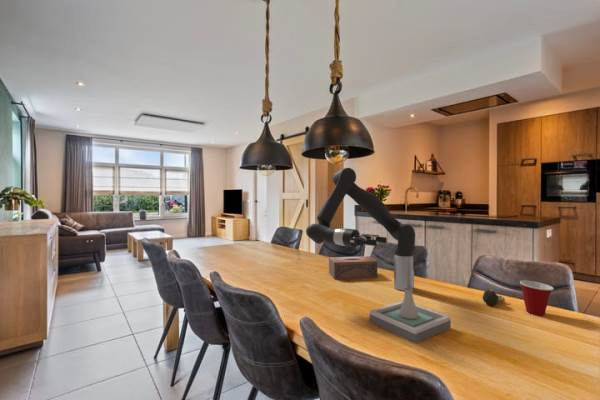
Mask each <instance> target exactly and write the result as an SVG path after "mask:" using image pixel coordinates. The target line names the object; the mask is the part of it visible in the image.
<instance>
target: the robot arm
mask: <svg viewBox="0 0 600 400" xmlns="http://www.w3.org/2000/svg"><path fill="white" fill-rule="evenodd" d="M356 180H357V174H356V172H355V170H354V169H353V168H350V167H345V168H342V169H340V170H338V171H337V172H335V173H334V175H333V177H332V181H333V184H334V186H335V187H334V189H333V190H332V192H331V193H330V195H329V196H328V197H327V199H326V200H325V202H323V204H322V206H321V208H320V210H319V211H318V214H317V217H316V220H317V221H318V223H311V224H309V225H308V226H307V227H306V230H305V234H306V236H307V237H308V238H309V239H310V240H312V241H313V242H314V243H316V244H319V245H320V244H322V243H324V242H326V243H328V244H333V245H338V246H344V247H350V248H357V247H358V246H361V247H363V246H365V247H366V246H371V247H376V246H378V243H380V244H381V243H383V244H386V243H387V242H388V239H387V237H386V236H385V237H384V236H380V234H371V233H370V234H369V233H360V231H359V230H358V229H355V228H345V227H344V228H341V227H340V228H338V227H331V223H332V220H333V218H334V217H335V214H336V213H337V211H338V209H339V206H340V205H341V203H342V202H343V199H344V198H345V197H346V195H348V197H350V199H352V200H353V201H354V202H355V204H358V206H359V207H360V208H362V209H363V211H365V212H366V213H367V215H369V216H370V217H371V218H373V220H375V221H376V222H378V224H380V225H381V226H382V227H384V229H385V230H386V231H387V232H388V233H389V235H391V237H392V238H393V239H395V241H397V247H395V248H394V250H393V287H394V289H395V290H398V291H402V292H403V291H404V288H412V289H413V290H414V288H415V270H414V252H415V248H416V232H415V229H414V227H413V226H412V225H411V224H406V223H402V222H401V221H399V220H398V219H397V218H395V217H394V216H393V215H392V214H391V213H390V211H389V209H388V207H387V206H386V204H385V202H383V201H382V200H381V199H380V198H379V197H378V196H376V195H375V194H374V193H372V192H370V191H368V190H366V189H363V188H362V187H360V186H359V185H358V184H356V183H355V182H356ZM404 292H405V291H404Z"/></svg>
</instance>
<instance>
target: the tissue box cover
mask: <svg viewBox="0 0 600 400" xmlns="http://www.w3.org/2000/svg"><path fill="white" fill-rule="evenodd" d="M328 273H329V275H330V276H331V277H332V278H333V279H334V280H348V279H349V280H350V279H376V278H378V260H377V259H375V258H373V257H372V256H367V255H365V256H364V255H363V256H336V257H335V256H332V257H328Z"/></svg>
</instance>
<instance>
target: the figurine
mask: <svg viewBox="0 0 600 400" xmlns="http://www.w3.org/2000/svg"><path fill="white" fill-rule="evenodd" d="M482 300H483V302H484V303H485V304H486V305H487V306H495V305H497V304H498V302H503V301H505V300H506V299H505V297H504V296H502V295H498V294H497V292H495V291H493V290H492V289H488V290H485V291H484V292H483V293H482Z"/></svg>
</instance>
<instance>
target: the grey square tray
mask: <svg viewBox="0 0 600 400" xmlns="http://www.w3.org/2000/svg"><path fill="white" fill-rule="evenodd" d="M402 303H403V300H402V301H399V302H395V303H391V304H387V305H385V306H380V307H377V308H374V309H370V310H369V322H370V323H371V324H374V325H376V326H377V327H380V328H382V329H384V330H386V331H388V332H390V333H392V334H394V335H396V336H398V337H401V338H403V339H405V340H406V341H409V342H412V343H413V344H417V343H421V342H422V341H424V339H425V340H427V339H429V338H431V336H432V337H434V336H436V335H438V333H439V334H441V333H443V332H446V331H449V330H450V328H451V327H452V325H451V319H452V317H451V316H449V315H447V314H444V313H441V312H437V311H434V310H433V309H432V310H431V309H428V308H426V307H423V306H421V305H418V304H415V306H416V309H417V312H418V315H419V317H418V319H406V318H402V317H401V316H399V315H398V314H399V311H400V309H401V306H402Z"/></svg>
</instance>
